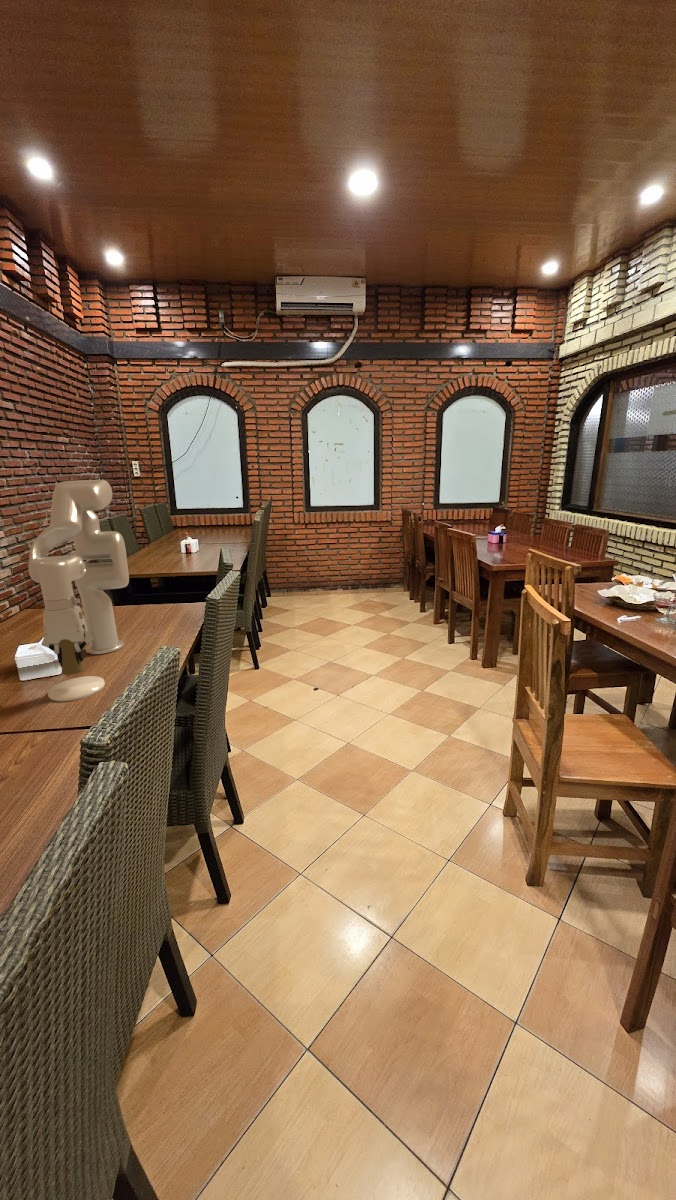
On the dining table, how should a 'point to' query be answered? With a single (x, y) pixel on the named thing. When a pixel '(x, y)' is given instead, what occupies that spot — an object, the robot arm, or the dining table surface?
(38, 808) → the dining table surface
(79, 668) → the cork
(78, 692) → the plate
